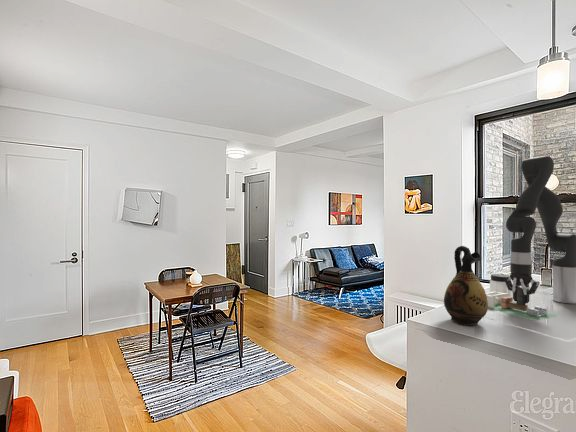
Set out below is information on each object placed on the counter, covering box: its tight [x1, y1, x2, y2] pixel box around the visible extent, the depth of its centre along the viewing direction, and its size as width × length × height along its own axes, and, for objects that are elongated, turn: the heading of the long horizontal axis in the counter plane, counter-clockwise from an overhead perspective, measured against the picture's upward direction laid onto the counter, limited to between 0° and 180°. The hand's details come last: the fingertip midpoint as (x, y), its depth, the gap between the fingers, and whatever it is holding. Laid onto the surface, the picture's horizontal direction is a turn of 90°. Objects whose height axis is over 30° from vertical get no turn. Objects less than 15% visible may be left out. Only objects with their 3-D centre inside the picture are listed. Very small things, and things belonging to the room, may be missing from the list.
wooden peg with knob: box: [501, 286, 529, 311], centre depth 143 cm, size 5×9×10 cm, turn 24°
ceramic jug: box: [443, 245, 489, 327], centre depth 129 cm, size 17×15×30 cm
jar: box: [489, 273, 512, 297], centre depth 164 cm, size 9×8×12 cm
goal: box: [485, 291, 509, 308], centre depth 151 cm, size 11×6×6 cm, turn 114°
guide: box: [527, 305, 548, 318], centre depth 135 cm, size 7×4×3 cm, turn 114°
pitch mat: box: [488, 303, 558, 322], centre depth 143 cm, size 16×25×1 cm, turn 24°
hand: (520, 301), depth 141 cm, fingers closed on wooden peg with knob, 3 cm apart
